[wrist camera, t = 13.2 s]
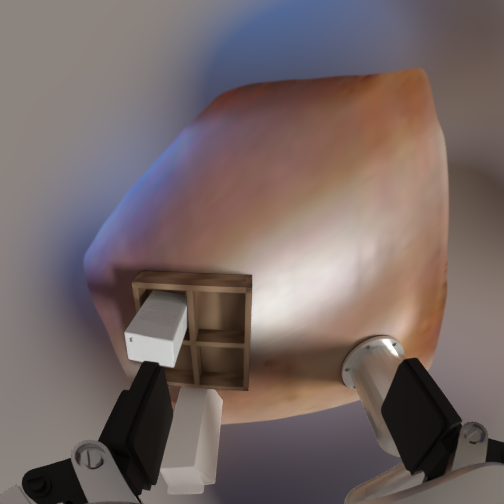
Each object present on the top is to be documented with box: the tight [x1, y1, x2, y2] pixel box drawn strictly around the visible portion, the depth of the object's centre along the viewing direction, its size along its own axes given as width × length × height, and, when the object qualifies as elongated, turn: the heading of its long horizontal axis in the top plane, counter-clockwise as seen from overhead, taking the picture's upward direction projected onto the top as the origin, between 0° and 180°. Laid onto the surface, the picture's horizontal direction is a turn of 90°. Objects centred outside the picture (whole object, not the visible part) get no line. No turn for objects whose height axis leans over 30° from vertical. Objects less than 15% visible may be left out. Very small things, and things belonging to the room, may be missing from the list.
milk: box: [160, 387, 223, 494], centre depth 37 cm, size 6×6×22 cm
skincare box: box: [124, 290, 189, 367], centre depth 35 cm, size 6×4×12 cm
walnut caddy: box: [132, 271, 252, 391], centre depth 41 cm, size 16×18×4 cm
